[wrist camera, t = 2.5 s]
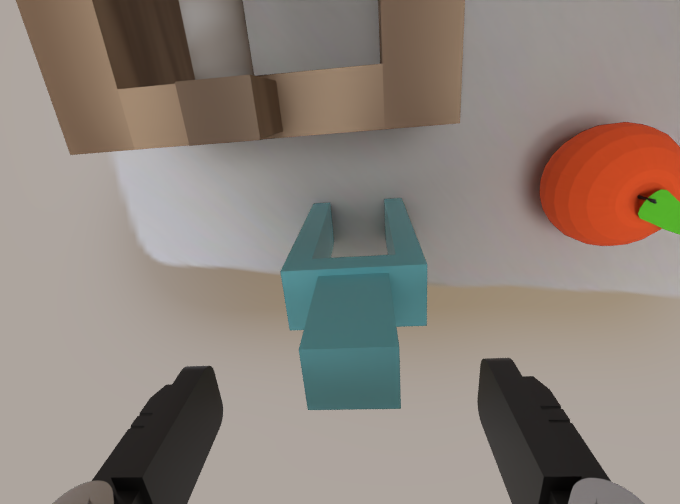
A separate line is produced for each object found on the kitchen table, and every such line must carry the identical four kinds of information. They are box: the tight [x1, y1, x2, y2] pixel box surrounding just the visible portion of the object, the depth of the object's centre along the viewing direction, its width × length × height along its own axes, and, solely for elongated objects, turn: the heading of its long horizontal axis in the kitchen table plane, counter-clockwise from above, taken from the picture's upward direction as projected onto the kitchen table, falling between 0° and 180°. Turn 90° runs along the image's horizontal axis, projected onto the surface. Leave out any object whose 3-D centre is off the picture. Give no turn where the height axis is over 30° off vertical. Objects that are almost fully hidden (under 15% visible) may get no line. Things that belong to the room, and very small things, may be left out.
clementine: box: [540, 122, 680, 246], centre depth 21 cm, size 8×7×7 cm
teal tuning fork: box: [280, 198, 427, 410], centre depth 19 cm, size 6×3×16 cm, turn 95°
